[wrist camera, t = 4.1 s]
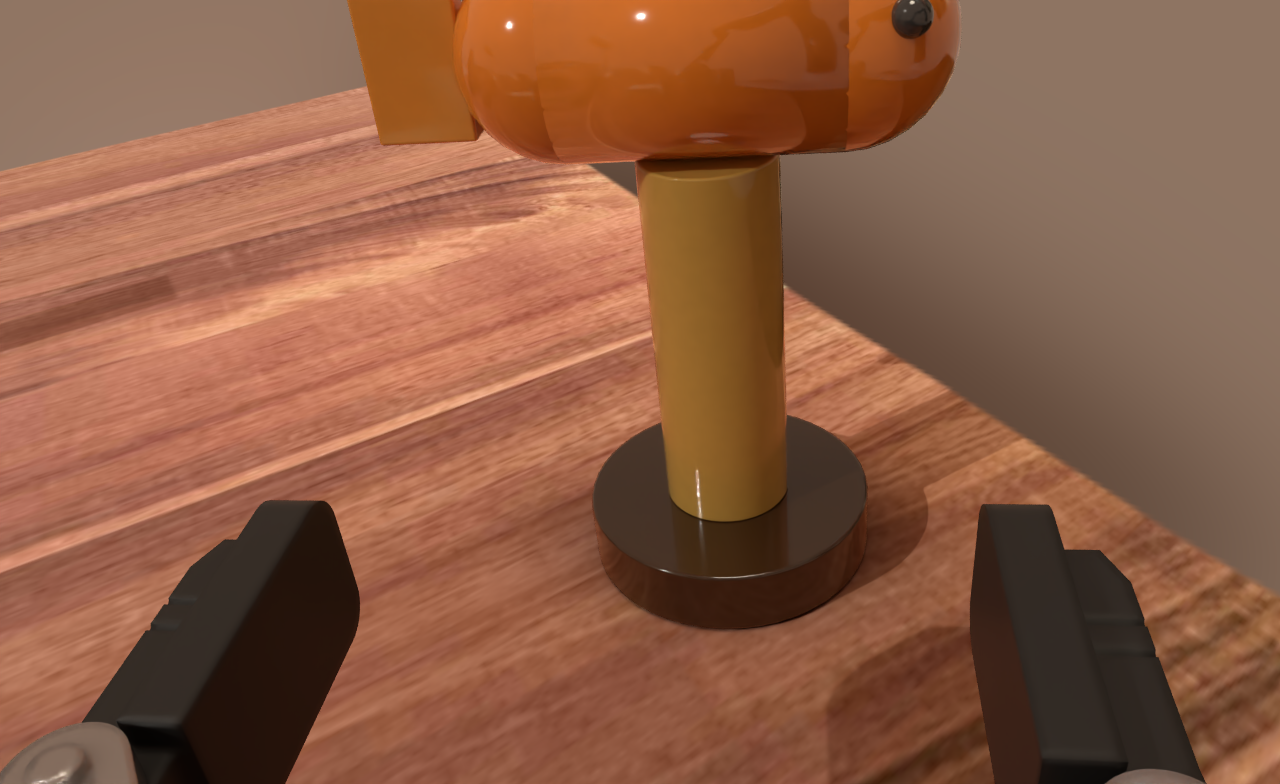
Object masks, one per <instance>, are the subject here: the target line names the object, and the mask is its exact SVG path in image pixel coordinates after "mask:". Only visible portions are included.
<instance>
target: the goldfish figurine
mask: <svg viewBox="0 0 1280 784" xmlns="http://www.w3.org/2000/svg"><path fill="white" fill-rule="evenodd" d="M347 2H348V6H349V11H350V15H351V19H352V23H353V28H354V32H355V36H356V41H357V45H358V49H359V53H360V58H361V61H362V66H363V70H364V75H365V79H366V83H367V87H368V92H369V96H370V100H371V104H372V109H373V113H374V117H375V121H376V126H377V130H378V134H379V138H380V143H381V145H384V146H386V145H406V144H427V143H448V142H469V141H476V140H478V139H479V137H480V136H481V134H482V133H483V131H484V130H485V131H486V132H487V134H489V135H490V136H491V137H492V138H494V139H495V140H496V141H497V142H499V143H500V144H501V145H502V146H504V147H506V148H508V149H510V150H512V151H514V152H516V153H518V154H520V155H522V156H524V157H526V158H529V159H533V160H536V161H540V162H544V163H552V164H585V163H607V162H627V161H628V162H630V161H634V162H635V171H636V181H637V191H638V201H639V210H640V220H641V230H642V240H643V249H644V259H645V269H646V279H647V289H648V298H649V308H650V318H651V328H652V337H653V347H654V357H655V367H656V376H657V386H658V396H659V406H660V415H661V423H658V424H656V425H654V426H652V427H649V428H647V429H645V430H643V431H642V432H640V433H638V434H637V435H635V436H633V437H632V438H630V439H629V440H628V441H626V442H625V443H623V444H622V445H621V446H620V447H619V448H618V449H617V450H616V451H615V452H613V453H612V455H611V456H610V457H609V458H608V459H607V461H606V462H605V463H604V465H603V467H602V468H601V470H600V472H599V473H598V476H597V479H596V481H595V484H594V488H593V494H592V508H593V515H594V521H595V528H596V534H597V541H598V548H599V553H600V557H601V561H602V564H603V566H604V568H605V570H606V572H607V574H608V576H609V577H610V579H611V580H612V581H613V583H614V584H615V585H616V587H617V588H618V589H619V590H620V591H621V592H622V593H623V594H624V595H625V596H627V597H628V598H629V599H631V600H632V601H633V602H635V603H636V604H637V605H639V606H641V607H642V608H644V609H646V610H648V611H650V612H651V613H654V614H656V615H659V616H661V617H664V618H666V619H669V620H672V621H676V622H679V623H683V624H687V625H693V626H699V627H706V628H719V629H733V628H748V627H757V626H763V625H768V624H772V623H777V622H781V621H784V620H787V619H790V618H793V617H796V616H799V615H801V614H803V613H805V612H807V611H810V610H812V609H814V608H815V607H817V606H819V605H820V604H822V603H824V602H825V601H827V600H828V599H830V598H831V597H832V596H833V595H835V594H836V593H837V592H838V591H840V590H841V589H842V587H843V586H844V585H845V584H846V583H847V582H848V581H849V580H850V579H851V577H852V576H853V574H854V573H855V571H856V570H857V568H858V567H859V564H860V562H861V560H862V558H863V556H864V551H865V547H866V537H867V499H868V486H867V481H866V476H865V473H864V471H863V468H862V466H861V464H860V462H859V461H858V459H857V458H856V456H855V455H854V453H853V452H852V451H851V450H850V449H849V448H848V447H847V446H846V444H844V443H843V442H842V441H841V440H839V439H838V438H837V437H836V436H834V435H833V434H831V433H830V432H828V431H826V430H825V429H823V428H821V427H819V426H817V425H815V424H813V423H811V422H808V421H805V420H803V419H800V418H797V417H793V416H790V415H787V410H786V370H785V330H784V290H783V251H782V213H781V212H782V211H781V171H780V155H788V154H811V153H835V152H849V151H856V150H863V149H868V148H871V147H874V146H877V145H880V144H883V143H886V142H888V141H890V140H892V139H894V138H895V137H897V136H899V135H901V134H902V133H904V132H906V131H907V130H909V129H910V128H911V127H912V126H914V125H915V124H916V123H917V122H918V121H919V120H920V119H922V118H923V117H924V116H925V115H926V114H927V113H928V112H929V110H930V109H931V108H932V107H933V105H934V104H935V103H936V102H937V100H938V99H939V98H940V97H941V95H942V93H943V91H944V89H945V88H946V86H947V84H948V82H949V80H950V78H951V76H952V74H953V71H954V68H955V64H956V61H957V58H958V54H959V51H960V46H961V35H962V14H961V8H960V4H959V0H462V2H461V0H347Z"/></svg>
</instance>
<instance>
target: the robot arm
mask: <svg viewBox="0 0 1280 784" xmlns="http://www.w3.org/2000/svg"><path fill="white" fill-rule="evenodd" d="M359 614H360V598H359V591H358V587H357V584H356V581H355V577H354V574H353V571H352V568H351V565H350V562H349V558H348V555H347V552H346V549H345V546H344V543H343V539H342V536H341V533H340V530H339V527H338V524H337V520H336V517H335V514H334V512H333V510H332V508H331V506H330V505H329V504H328V503H327V502H325V501H296V500H269V501H265V502H263V503H262V504H261V505H260V506H259V507H258V509H257V510H256V511H255V513H254V514H253V516H252V517H251V519H250V520H249V522H248V523H247V525H246V526H245V528H244V529H243V531H242V532H241V534H240V535H239V537H238V538H237V540H224V541H222V542H221V543H220V544H219V545H217V546H216V547H215V548H214V549H212V550H211V551H210V552H209V553H207V554H206V555H205V556H204V557H202V558H201V559H200V560H199V561H197V562H196V563H195V564H193V565H192V566H191V567H190V568H189V570H188V571H187V573H186V574H185V575H184V577H183V578H182V580H181V581H180V583H179V584H178V585H177V587H176V588H175V590H174V591H173V593H172V594H171V595H170V597H169V603H168V605H163V607H162V608H161V610H160V611H159V613H158V614H157V615H156V617H155V618H154V620H153V621H152V623H151V629H150V631H149V630H146V631H145V633H144V634H143V636H142V637H141V638H140V640H139V641H138V643H137V644H136V646H135V647H134V648H133V650H132V651H131V653H130V654H129V656H128V657H127V658H126V660H125V661H124V663H123V664H122V666H121V667H120V668H119V670H118V671H117V673H116V674H115V676H114V677H113V678H112V680H111V681H110V683H109V684H108V686H107V687H106V688H105V690H104V691H103V693H102V694H101V696H100V697H99V698H98V700H97V701H96V703H95V704H94V706H93V707H92V708H91V710H90V711H89V713H88V714H87V716H86V717H85V718H84V720H83V721H82V723H78V724H74V725H70V726H66V727H63V728H61V729H58V730H55V731H53V732H51V733H49V734H47V735H45V736H43V737H41V738H40V739H38V740H36V741H35V742H33V743H31V744H30V745H29V746H27V747H26V748H25V749H23V750H22V751H21V752H20V753H18V754H17V755H16V756H15V757H14V758H13V759H12V760H11V761H10V762H9V763H8V764H7V765H6V766H5V768H4V769H3V770H2V771H1V773H0V784H285V783H286V781H287V779H288V777H289V774H290V772H291V770H292V768H293V766H294V764H295V762H296V760H297V758H298V755H299V753H300V751H301V749H302V747H303V745H304V743H305V741H306V739H307V736H308V734H309V732H310V730H311V728H312V726H313V724H314V722H315V720H316V717H317V715H318V713H319V711H320V709H321V707H322V705H323V703H324V701H325V698H326V696H327V694H328V692H329V690H330V688H331V686H332V684H333V682H334V680H335V677H336V675H337V673H338V671H339V669H340V667H341V665H342V663H343V661H344V658H345V656H346V654H347V652H348V650H349V648H350V646H351V644H352V642H353V639H354V637H355V634H356V631H357V627H358V622H359ZM970 634H971V646H972V654H973V660H974V665H975V671H976V677H977V683H978V688H979V694H980V700H981V705H982V711H983V717H984V723H985V728H986V734H987V740H988V745H989V751H990V757H991V763H992V768H993V774H994V780H995V784H1206V782H1205V780H1204V778H1203V776H1202V774H1201V772H1200V769H1199V767H1198V764H1197V761H1196V759H1195V756H1194V753H1193V750H1192V748H1191V745H1190V742H1189V739H1188V737H1187V734H1186V731H1185V729H1184V726H1183V723H1182V720H1181V718H1180V715H1179V712H1178V709H1177V707H1176V704H1175V701H1174V698H1173V696H1172V693H1171V690H1170V688H1169V685H1168V682H1167V679H1166V677H1165V674H1164V671H1163V668H1162V666H1161V663H1160V660H1159V658H1158V657H1156V654H1155V650H1156V649H1155V647H1154V644H1153V641H1152V638H1151V636H1150V633H1149V630H1148V628H1147V627H1145V625H1144V617H1143V614H1142V611H1141V608H1140V606H1139V603H1138V600H1137V598H1136V595H1135V592H1134V589H1133V587H1132V584H1131V582H1130V581H1129V580H1128V579H1127V578H1126V577H1125V576H1124V575H1123V574H1122V573H1121V572H1120V571H1119V570H1118V569H1117V568H1116V566H1115V565H1114V564H1113V563H1112V562H1111V561H1110V560H1109V559H1108V558H1107V557H1106V556H1105V555H1104V554H1103V553H1102V552H1101V551H1100V550H1064V547H1063V544H1062V541H1061V537H1060V534H1059V531H1058V527H1057V524H1056V521H1055V517H1054V514H1053V511H1052V509H1051V507H1050V506H1049V505H1019V504H983V505H982V506H981V509H980V513H979V520H978V530H977V540H976V550H975V560H974V569H973V579H972V589H971V600H970Z"/></svg>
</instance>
